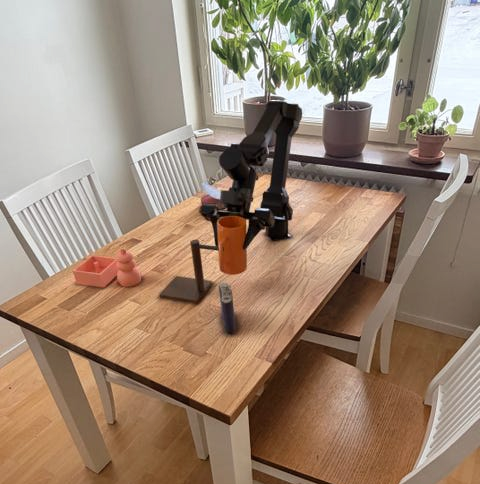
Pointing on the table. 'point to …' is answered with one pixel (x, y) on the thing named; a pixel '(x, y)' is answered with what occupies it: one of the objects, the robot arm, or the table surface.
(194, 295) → the hook stand
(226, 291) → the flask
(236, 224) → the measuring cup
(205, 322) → the table surface
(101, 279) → the pottery
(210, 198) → the canned food
